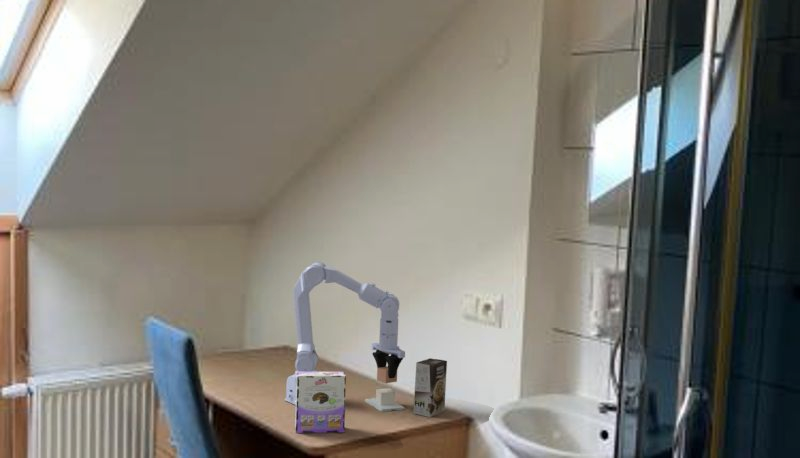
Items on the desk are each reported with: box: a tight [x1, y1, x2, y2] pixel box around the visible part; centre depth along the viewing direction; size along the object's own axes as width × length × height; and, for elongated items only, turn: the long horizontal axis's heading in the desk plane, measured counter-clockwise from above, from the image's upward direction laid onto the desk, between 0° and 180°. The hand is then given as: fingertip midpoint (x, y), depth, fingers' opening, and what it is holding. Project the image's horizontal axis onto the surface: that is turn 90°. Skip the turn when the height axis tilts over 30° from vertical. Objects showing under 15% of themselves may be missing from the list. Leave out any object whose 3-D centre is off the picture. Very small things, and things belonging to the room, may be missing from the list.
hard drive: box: [364, 397, 406, 413], centre depth 269 cm, size 2×8×12 cm
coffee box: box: [413, 357, 448, 418], centre depth 262 cm, size 9×6×16 cm
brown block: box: [376, 365, 398, 384], centre depth 268 cm, size 4×4×4 cm
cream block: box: [375, 388, 396, 405], centre depth 268 cm, size 4×4×4 cm
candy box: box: [294, 370, 347, 434], centre depth 240 cm, size 14×6×16 cm, turn 99°
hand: (386, 376), depth 268 cm, fingers closed on brown block, 4 cm apart
